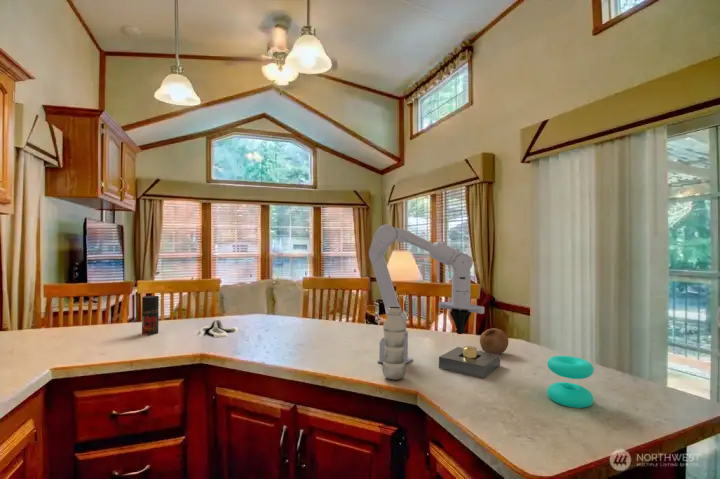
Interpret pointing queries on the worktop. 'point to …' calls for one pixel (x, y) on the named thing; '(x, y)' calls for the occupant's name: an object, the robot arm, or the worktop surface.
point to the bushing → (470, 352)
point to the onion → (494, 341)
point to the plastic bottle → (394, 344)
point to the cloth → (216, 329)
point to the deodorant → (150, 315)
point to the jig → (469, 363)
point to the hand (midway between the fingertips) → (460, 333)
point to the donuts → (568, 391)
